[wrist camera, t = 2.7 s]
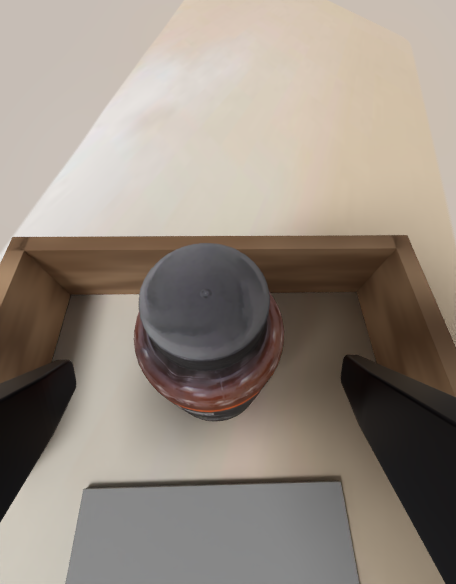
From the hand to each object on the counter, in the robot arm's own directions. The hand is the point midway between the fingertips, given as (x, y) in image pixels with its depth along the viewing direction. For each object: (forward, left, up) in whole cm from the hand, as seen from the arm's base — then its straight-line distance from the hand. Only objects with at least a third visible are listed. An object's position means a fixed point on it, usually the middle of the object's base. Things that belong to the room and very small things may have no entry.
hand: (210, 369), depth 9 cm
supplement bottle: (+2, 0, -9) cm, 10 cm away
